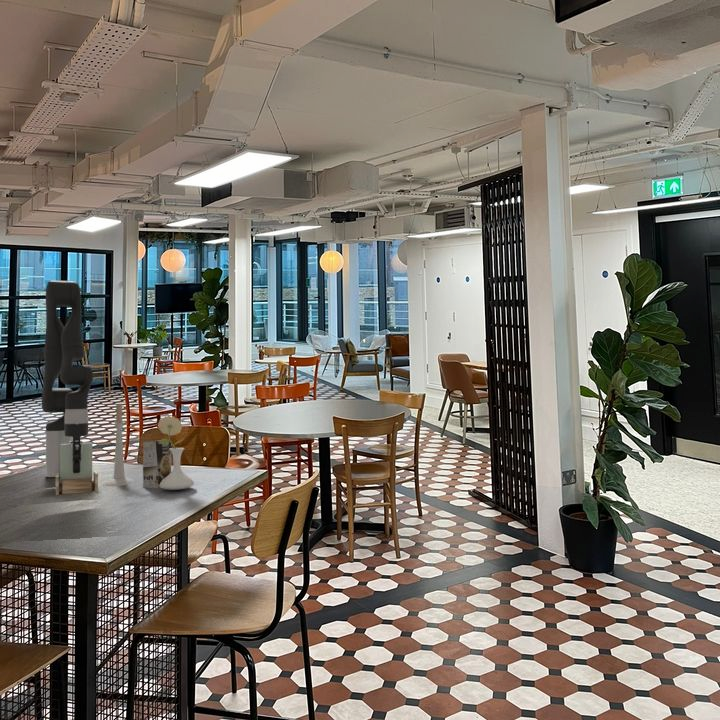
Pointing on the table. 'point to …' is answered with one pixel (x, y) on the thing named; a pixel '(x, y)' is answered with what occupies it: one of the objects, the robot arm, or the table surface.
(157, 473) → the coffee box
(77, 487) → the block
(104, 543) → the table surface
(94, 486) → the offcut rack
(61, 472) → the tall sheet
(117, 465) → the candlestick
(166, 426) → the flower in vase
